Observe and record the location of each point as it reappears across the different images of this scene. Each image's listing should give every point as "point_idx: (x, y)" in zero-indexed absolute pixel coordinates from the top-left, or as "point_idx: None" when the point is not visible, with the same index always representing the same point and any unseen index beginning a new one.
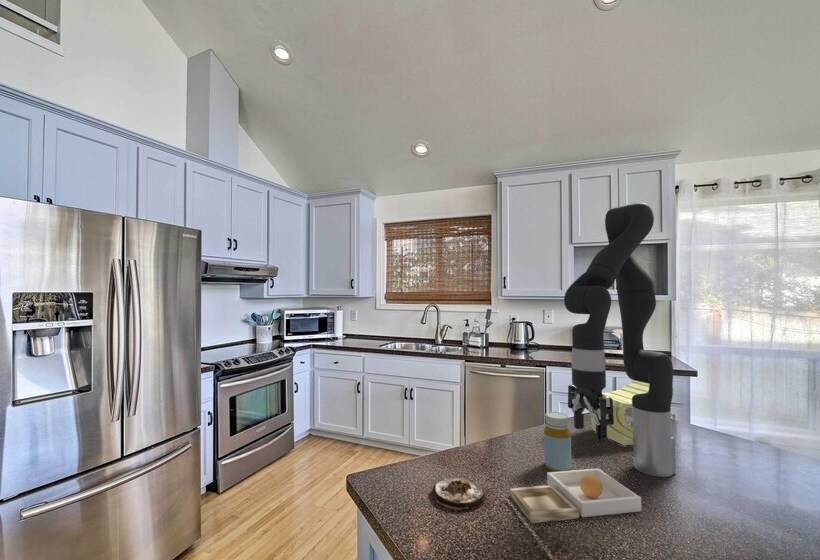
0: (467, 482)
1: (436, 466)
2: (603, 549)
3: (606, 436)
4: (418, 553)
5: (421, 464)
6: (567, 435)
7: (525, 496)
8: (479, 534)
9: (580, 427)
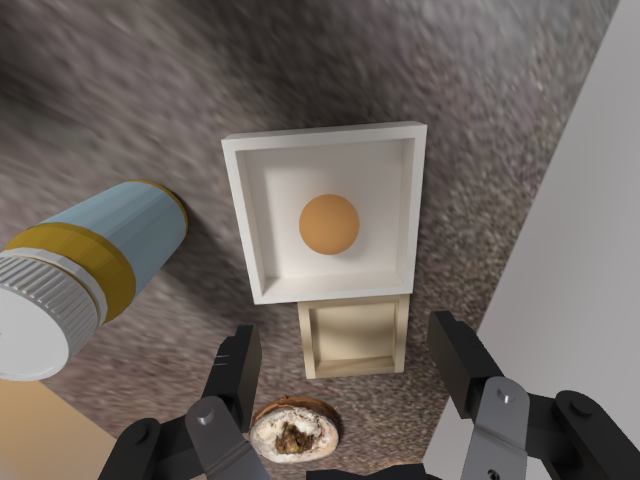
0: (288, 437)
1: None
2: (489, 280)
3: (475, 336)
4: None
5: None
6: (116, 260)
7: (315, 346)
8: (400, 417)
9: (257, 339)
